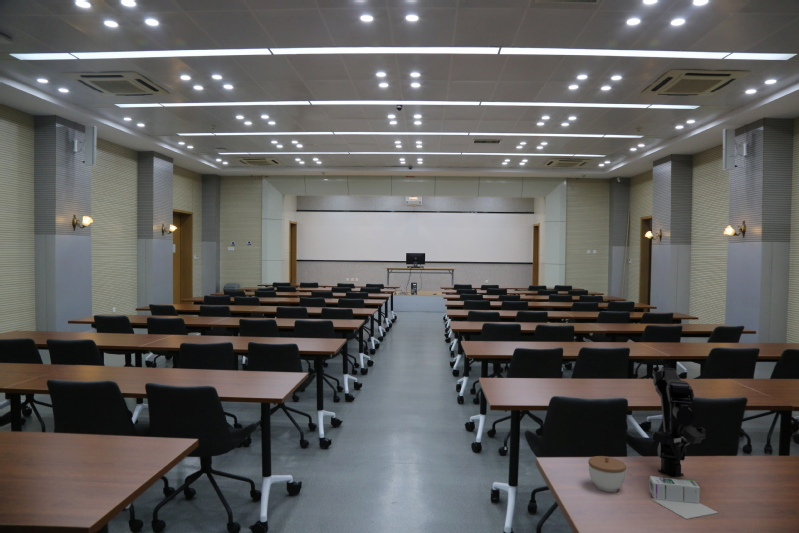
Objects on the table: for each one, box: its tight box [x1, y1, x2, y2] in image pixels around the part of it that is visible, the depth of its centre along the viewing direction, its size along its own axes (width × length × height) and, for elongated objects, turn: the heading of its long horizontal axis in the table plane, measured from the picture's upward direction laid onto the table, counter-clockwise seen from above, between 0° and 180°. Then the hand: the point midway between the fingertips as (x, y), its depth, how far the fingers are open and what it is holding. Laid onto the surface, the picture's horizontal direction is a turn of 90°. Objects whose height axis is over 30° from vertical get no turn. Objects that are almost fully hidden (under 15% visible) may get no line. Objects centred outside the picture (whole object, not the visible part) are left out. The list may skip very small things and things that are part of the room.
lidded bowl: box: [588, 455, 627, 493], centre depth 179 cm, size 13×13×11 cm
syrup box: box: [648, 475, 701, 503], centre depth 171 cm, size 6×6×14 cm
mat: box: [649, 497, 719, 520], centre depth 165 cm, size 14×14×1 cm
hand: (678, 459), depth 179 cm, fingers closed
